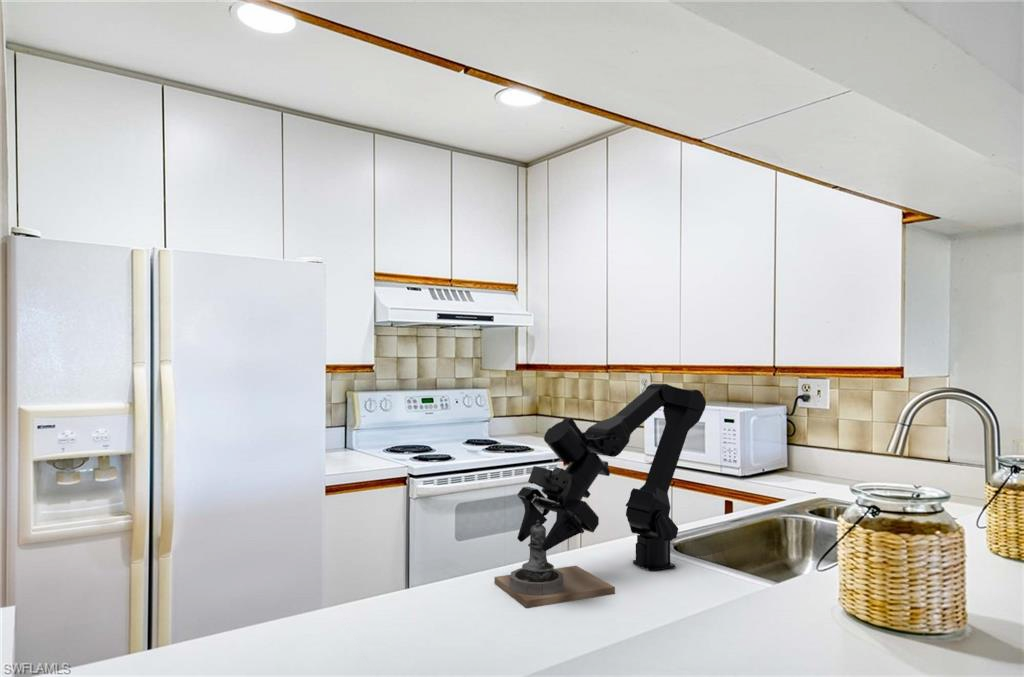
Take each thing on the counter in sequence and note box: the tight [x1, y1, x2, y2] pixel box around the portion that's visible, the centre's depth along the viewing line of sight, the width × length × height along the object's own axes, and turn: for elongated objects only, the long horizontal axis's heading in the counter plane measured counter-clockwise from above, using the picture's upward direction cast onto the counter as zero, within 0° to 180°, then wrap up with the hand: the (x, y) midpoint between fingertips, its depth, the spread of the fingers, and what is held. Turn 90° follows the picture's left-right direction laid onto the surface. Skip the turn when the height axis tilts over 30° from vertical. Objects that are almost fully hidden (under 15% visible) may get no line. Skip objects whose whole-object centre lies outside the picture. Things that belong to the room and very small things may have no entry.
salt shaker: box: [521, 520, 555, 582], centre depth 117 cm, size 6×6×12 cm
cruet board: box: [494, 565, 616, 609], centre depth 119 cm, size 18×14×3 cm
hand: (530, 544), depth 116 cm, fingers open, 7 cm apart
